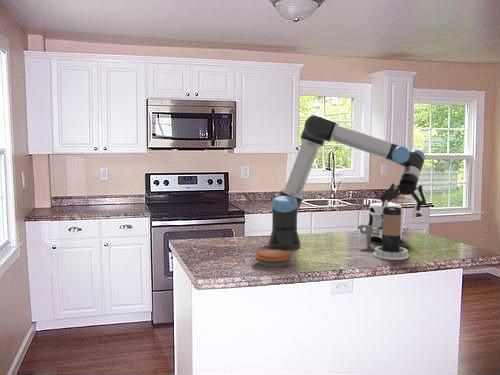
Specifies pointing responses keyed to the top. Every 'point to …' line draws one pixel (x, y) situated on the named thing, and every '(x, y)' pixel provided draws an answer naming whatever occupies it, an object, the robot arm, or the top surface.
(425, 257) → the top surface
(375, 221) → the milk container
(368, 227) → the mechanical component
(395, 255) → the pale green round dish
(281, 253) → the pie
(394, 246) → the travel mug
